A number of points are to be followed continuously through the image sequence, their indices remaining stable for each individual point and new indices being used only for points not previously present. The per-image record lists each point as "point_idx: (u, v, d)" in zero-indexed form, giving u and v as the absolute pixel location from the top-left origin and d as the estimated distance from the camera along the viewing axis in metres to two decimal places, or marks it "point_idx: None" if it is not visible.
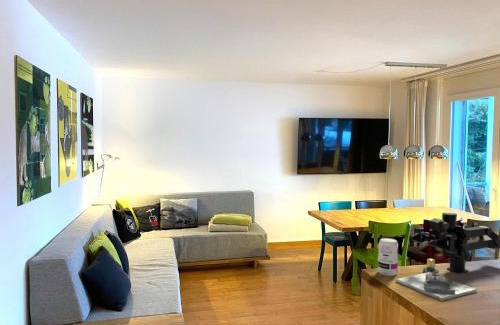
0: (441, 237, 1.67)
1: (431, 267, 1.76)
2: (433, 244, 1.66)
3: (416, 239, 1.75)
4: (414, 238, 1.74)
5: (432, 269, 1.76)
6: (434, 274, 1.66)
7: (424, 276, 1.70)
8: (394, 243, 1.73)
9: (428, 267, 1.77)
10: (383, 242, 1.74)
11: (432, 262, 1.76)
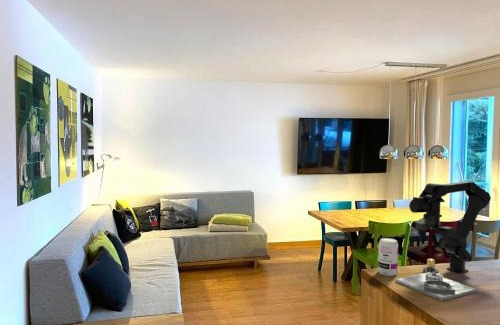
0: (440, 237, 1.71)
1: (431, 267, 1.76)
2: (443, 244, 1.73)
3: (424, 236, 1.82)
4: (423, 239, 1.81)
5: (432, 269, 1.76)
6: (434, 274, 1.66)
7: (424, 276, 1.70)
8: (394, 243, 1.73)
9: (428, 267, 1.77)
10: (383, 242, 1.74)
11: (432, 262, 1.76)
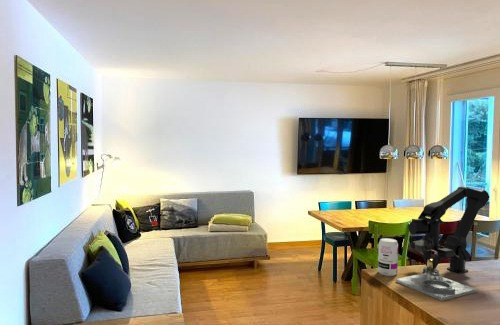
0: (434, 257, 1.74)
1: (431, 267, 1.76)
2: (436, 264, 1.76)
3: (429, 258, 1.80)
4: None
5: (432, 269, 1.76)
6: (434, 274, 1.66)
7: (424, 276, 1.70)
8: (394, 243, 1.73)
9: (428, 267, 1.77)
10: (383, 242, 1.74)
11: (432, 262, 1.76)
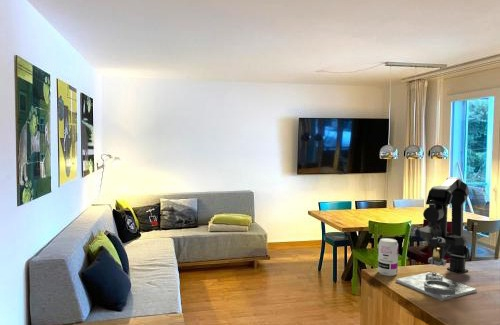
0: (441, 245, 1.54)
1: (438, 257, 1.57)
2: (444, 254, 1.56)
3: (435, 247, 1.60)
4: None
5: (439, 259, 1.57)
6: (434, 274, 1.66)
7: (424, 276, 1.70)
8: (394, 243, 1.73)
9: (434, 257, 1.58)
10: (383, 242, 1.74)
11: (439, 251, 1.57)
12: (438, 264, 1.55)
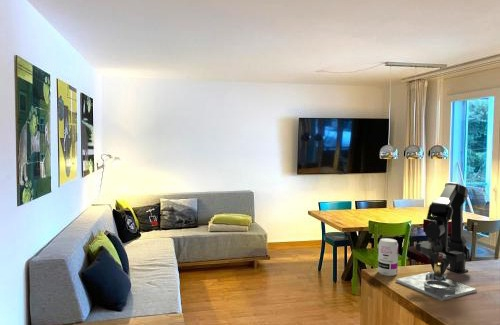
0: (442, 261, 1.53)
1: (439, 272, 1.56)
2: (445, 269, 1.55)
3: None
4: None
5: (440, 274, 1.56)
6: None
7: (424, 276, 1.70)
8: (394, 243, 1.73)
9: (435, 272, 1.57)
10: (383, 242, 1.74)
11: (440, 266, 1.55)
12: (439, 280, 1.54)
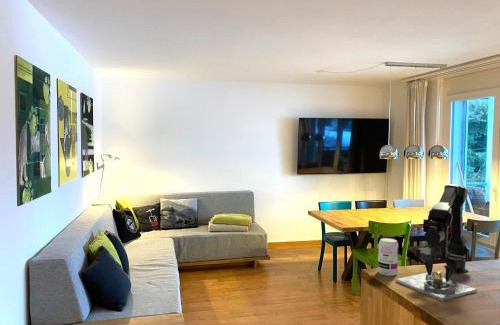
0: (447, 268, 1.51)
1: (438, 281, 1.56)
2: (450, 277, 1.53)
3: (431, 266, 1.61)
4: (430, 270, 1.61)
5: (439, 283, 1.56)
6: None
7: (424, 276, 1.70)
8: (394, 243, 1.73)
9: (435, 281, 1.57)
10: (383, 242, 1.74)
11: (439, 275, 1.56)
12: None
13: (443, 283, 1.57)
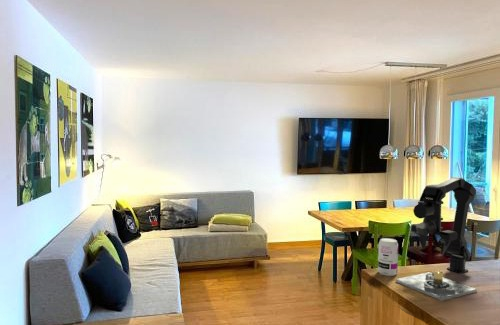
0: (442, 241, 1.63)
1: (438, 281, 1.56)
2: (445, 249, 1.65)
3: (425, 240, 1.74)
4: (424, 243, 1.73)
5: (439, 283, 1.56)
6: None
7: (424, 276, 1.70)
8: (394, 243, 1.73)
9: (435, 281, 1.57)
10: (383, 242, 1.74)
11: (439, 275, 1.56)
12: None
13: (443, 283, 1.57)
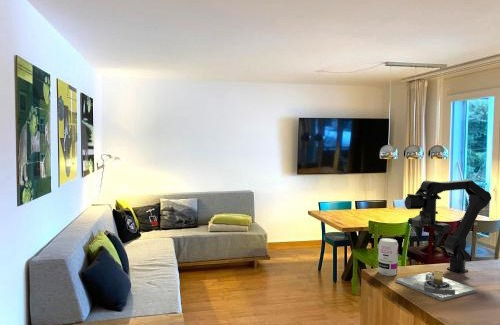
0: (436, 233, 1.72)
1: (438, 281, 1.56)
2: (439, 241, 1.74)
3: (420, 232, 1.84)
4: (420, 236, 1.83)
5: (439, 283, 1.56)
6: None
7: (424, 276, 1.70)
8: (394, 243, 1.73)
9: (435, 281, 1.57)
10: (383, 242, 1.74)
11: (439, 275, 1.56)
12: None
13: (443, 283, 1.57)
